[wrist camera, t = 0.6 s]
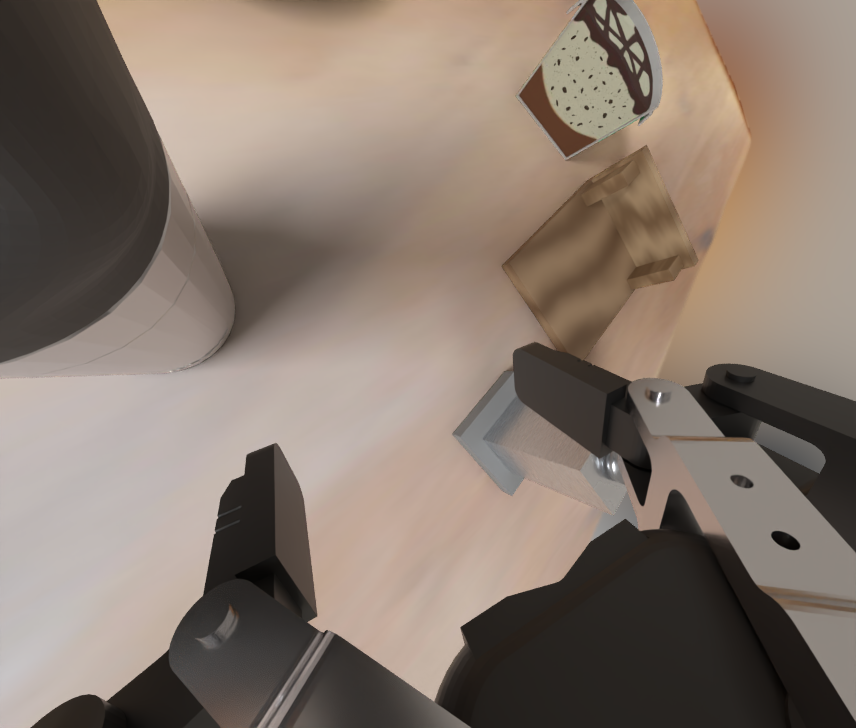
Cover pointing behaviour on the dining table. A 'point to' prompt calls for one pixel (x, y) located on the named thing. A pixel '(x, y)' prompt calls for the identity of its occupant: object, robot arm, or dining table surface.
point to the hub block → (554, 458)
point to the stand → (481, 423)
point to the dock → (601, 252)
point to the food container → (595, 76)
